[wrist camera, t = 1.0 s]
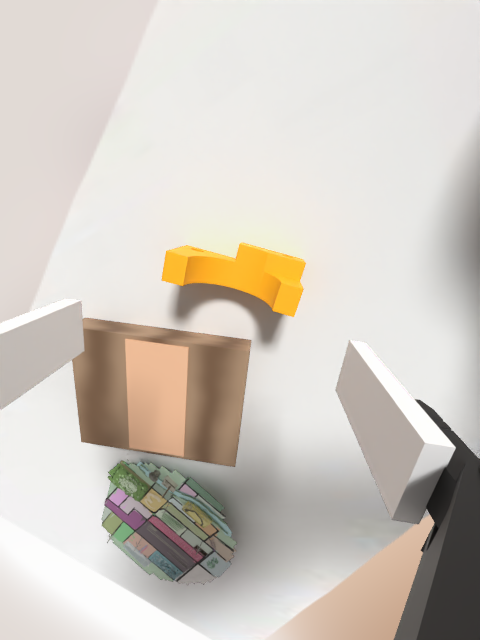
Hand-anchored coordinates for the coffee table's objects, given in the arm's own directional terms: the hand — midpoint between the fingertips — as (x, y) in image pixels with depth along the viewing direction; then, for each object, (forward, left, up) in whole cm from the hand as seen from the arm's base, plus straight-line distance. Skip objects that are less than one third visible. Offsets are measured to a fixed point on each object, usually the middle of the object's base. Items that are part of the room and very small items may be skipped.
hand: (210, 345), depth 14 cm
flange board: (+8, +15, -17) cm, 24 cm away
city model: (+8, +38, -18) cm, 43 cm away
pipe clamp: (0, -1, -18) cm, 18 cm away
